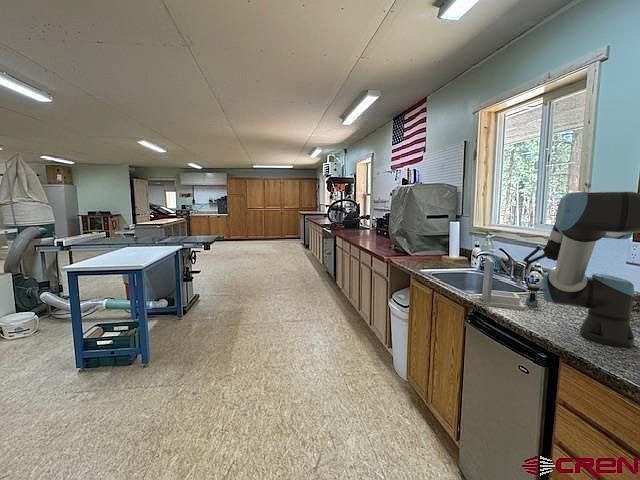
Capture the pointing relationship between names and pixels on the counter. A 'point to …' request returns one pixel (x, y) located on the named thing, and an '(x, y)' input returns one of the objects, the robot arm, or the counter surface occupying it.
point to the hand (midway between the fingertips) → (542, 281)
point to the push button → (532, 295)
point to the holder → (497, 296)
